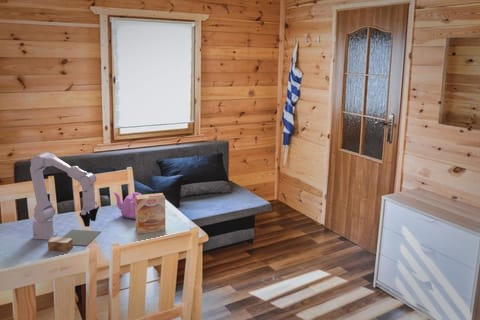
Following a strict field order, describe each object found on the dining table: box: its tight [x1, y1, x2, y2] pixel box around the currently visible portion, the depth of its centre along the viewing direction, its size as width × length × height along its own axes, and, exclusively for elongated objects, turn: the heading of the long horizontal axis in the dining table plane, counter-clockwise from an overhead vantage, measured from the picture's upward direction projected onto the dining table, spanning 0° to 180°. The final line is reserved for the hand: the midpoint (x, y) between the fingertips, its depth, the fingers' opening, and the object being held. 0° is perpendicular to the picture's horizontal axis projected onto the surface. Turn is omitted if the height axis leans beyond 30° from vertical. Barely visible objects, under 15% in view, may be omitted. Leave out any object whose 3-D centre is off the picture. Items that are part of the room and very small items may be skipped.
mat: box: [62, 229, 102, 247], centre depth 241 cm, size 16×18×1 cm
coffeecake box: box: [135, 192, 166, 235], centre depth 251 cm, size 15×7×20 cm, turn 112°
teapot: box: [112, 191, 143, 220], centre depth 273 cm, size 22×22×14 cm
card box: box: [47, 236, 74, 253], centre depth 227 cm, size 10×5×5 cm, turn 84°
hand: (90, 223), depth 235 cm, fingers open, 7 cm apart
